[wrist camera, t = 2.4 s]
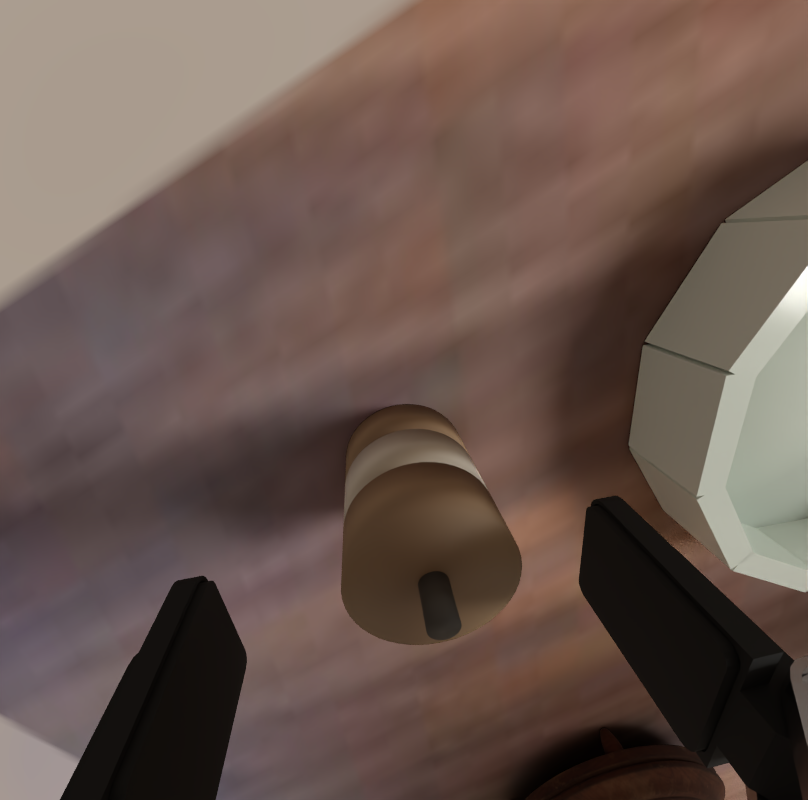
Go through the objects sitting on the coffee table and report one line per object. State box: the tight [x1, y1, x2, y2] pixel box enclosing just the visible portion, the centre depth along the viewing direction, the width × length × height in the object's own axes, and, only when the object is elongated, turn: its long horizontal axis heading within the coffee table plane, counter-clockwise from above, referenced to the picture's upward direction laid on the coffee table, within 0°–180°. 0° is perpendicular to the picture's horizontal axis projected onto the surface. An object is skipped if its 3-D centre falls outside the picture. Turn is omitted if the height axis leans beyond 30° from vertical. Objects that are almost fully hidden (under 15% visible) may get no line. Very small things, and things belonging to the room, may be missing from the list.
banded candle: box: [341, 404, 522, 645], centre depth 12 cm, size 5×5×7 cm
